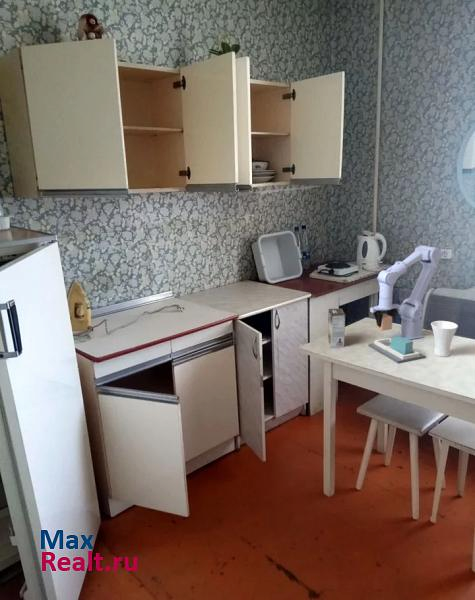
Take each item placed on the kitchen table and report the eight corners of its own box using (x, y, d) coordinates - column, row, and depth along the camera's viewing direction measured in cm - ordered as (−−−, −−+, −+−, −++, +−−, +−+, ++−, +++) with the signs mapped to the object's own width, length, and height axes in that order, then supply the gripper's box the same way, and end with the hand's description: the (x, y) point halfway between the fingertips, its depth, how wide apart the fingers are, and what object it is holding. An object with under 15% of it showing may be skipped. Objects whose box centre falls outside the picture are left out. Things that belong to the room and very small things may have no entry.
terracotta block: (385, 326, 218) (385, 313, 216) (391, 329, 213) (392, 316, 212) (375, 327, 216) (376, 315, 215) (382, 330, 212) (382, 318, 210)
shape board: (394, 341, 217) (394, 336, 216) (425, 357, 198) (425, 352, 197) (368, 346, 213) (368, 341, 212) (398, 363, 194) (398, 357, 193)
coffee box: (327, 340, 222) (328, 308, 217) (340, 340, 221) (341, 308, 217) (330, 347, 213) (331, 314, 208) (344, 347, 213) (345, 314, 208)
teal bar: (397, 348, 206) (398, 335, 205) (412, 354, 200) (413, 341, 198) (390, 350, 204) (391, 338, 203) (404, 356, 198) (405, 343, 196)
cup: (457, 359, 195) (460, 329, 192) (431, 358, 197) (433, 328, 194) (451, 350, 205) (454, 321, 201) (426, 349, 207) (429, 320, 203)
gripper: (393, 293, 216) (392, 320, 220) (366, 296, 212) (365, 324, 216) (403, 296, 210) (401, 325, 214) (375, 300, 206) (374, 329, 209)
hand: (384, 325), depth 214 cm, fingers closed on terracotta block, 5 cm apart
